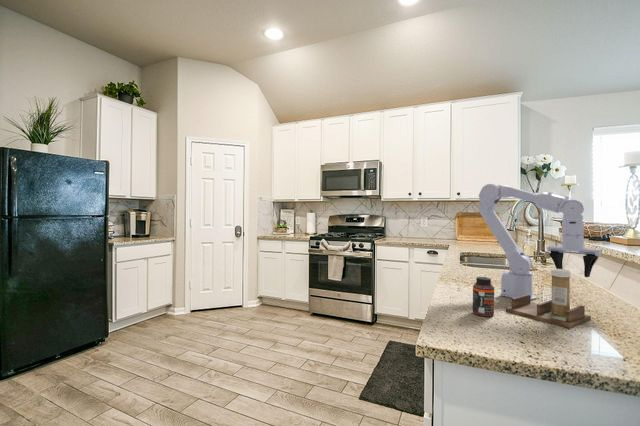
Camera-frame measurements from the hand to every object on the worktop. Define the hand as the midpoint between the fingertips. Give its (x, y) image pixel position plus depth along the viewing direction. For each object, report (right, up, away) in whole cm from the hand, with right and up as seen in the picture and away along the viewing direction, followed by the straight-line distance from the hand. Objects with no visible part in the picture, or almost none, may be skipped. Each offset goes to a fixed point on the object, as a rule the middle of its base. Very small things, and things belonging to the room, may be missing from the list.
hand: (573, 274), depth 105 cm
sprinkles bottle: (-14, -10, -13) cm, 21 cm away
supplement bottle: (-35, -11, -9) cm, 38 cm away
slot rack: (-16, -10, -10) cm, 22 cm away
